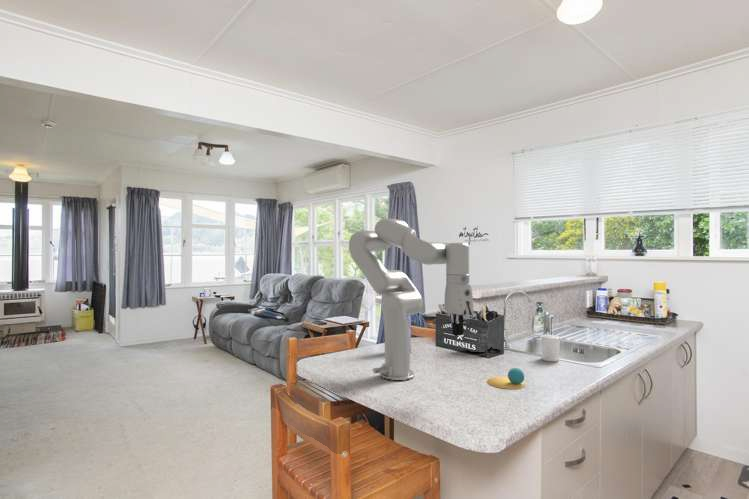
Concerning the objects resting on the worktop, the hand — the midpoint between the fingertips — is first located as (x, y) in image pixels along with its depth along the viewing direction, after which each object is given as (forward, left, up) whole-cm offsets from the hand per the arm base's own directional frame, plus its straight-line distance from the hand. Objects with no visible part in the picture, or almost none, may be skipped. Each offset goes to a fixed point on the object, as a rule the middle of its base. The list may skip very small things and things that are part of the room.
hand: (458, 334), depth 138 cm
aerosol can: (+11, +55, -19) cm, 59 cm away
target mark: (+21, 0, -19) cm, 28 cm away
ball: (+23, -2, -16) cm, 29 cm away
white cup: (+61, +15, -19) cm, 66 cm away
